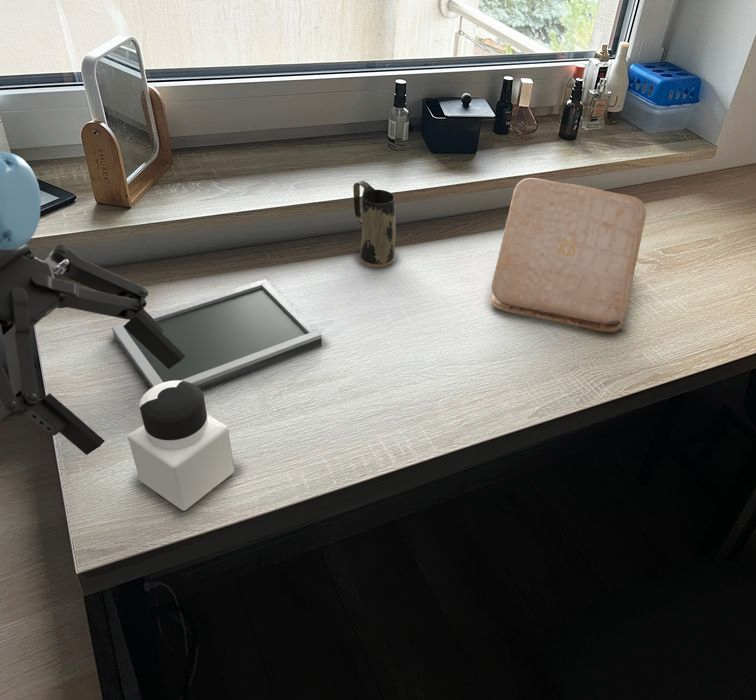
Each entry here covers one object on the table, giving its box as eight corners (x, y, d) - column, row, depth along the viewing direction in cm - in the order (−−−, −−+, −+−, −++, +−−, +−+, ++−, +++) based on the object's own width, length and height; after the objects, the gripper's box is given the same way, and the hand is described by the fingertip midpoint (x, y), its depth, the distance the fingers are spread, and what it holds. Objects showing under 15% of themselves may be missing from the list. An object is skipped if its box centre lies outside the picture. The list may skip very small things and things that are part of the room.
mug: (401, 260, 118) (404, 193, 111) (376, 271, 115) (378, 203, 107) (368, 240, 122) (369, 174, 115) (343, 251, 118) (342, 184, 111)
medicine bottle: (236, 472, 80) (224, 391, 73) (184, 513, 75) (165, 431, 68) (191, 443, 83) (175, 363, 75) (138, 481, 78) (115, 399, 70)
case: (484, 312, 109) (498, 217, 99) (511, 246, 125) (524, 159, 115) (619, 342, 106) (646, 247, 96) (628, 270, 123) (652, 183, 113)
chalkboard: (162, 407, 87) (159, 394, 86) (114, 338, 96) (111, 326, 95) (322, 345, 99) (321, 334, 98) (266, 289, 108) (265, 278, 107)
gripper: (42, 205, 78) (187, 345, 85) (-175, 336, 59) (36, 503, 66) (73, 169, 74) (223, 320, 81) (-149, 297, 55) (73, 479, 62)
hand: (139, 402), depth 74 cm, fingers open, 13 cm apart
